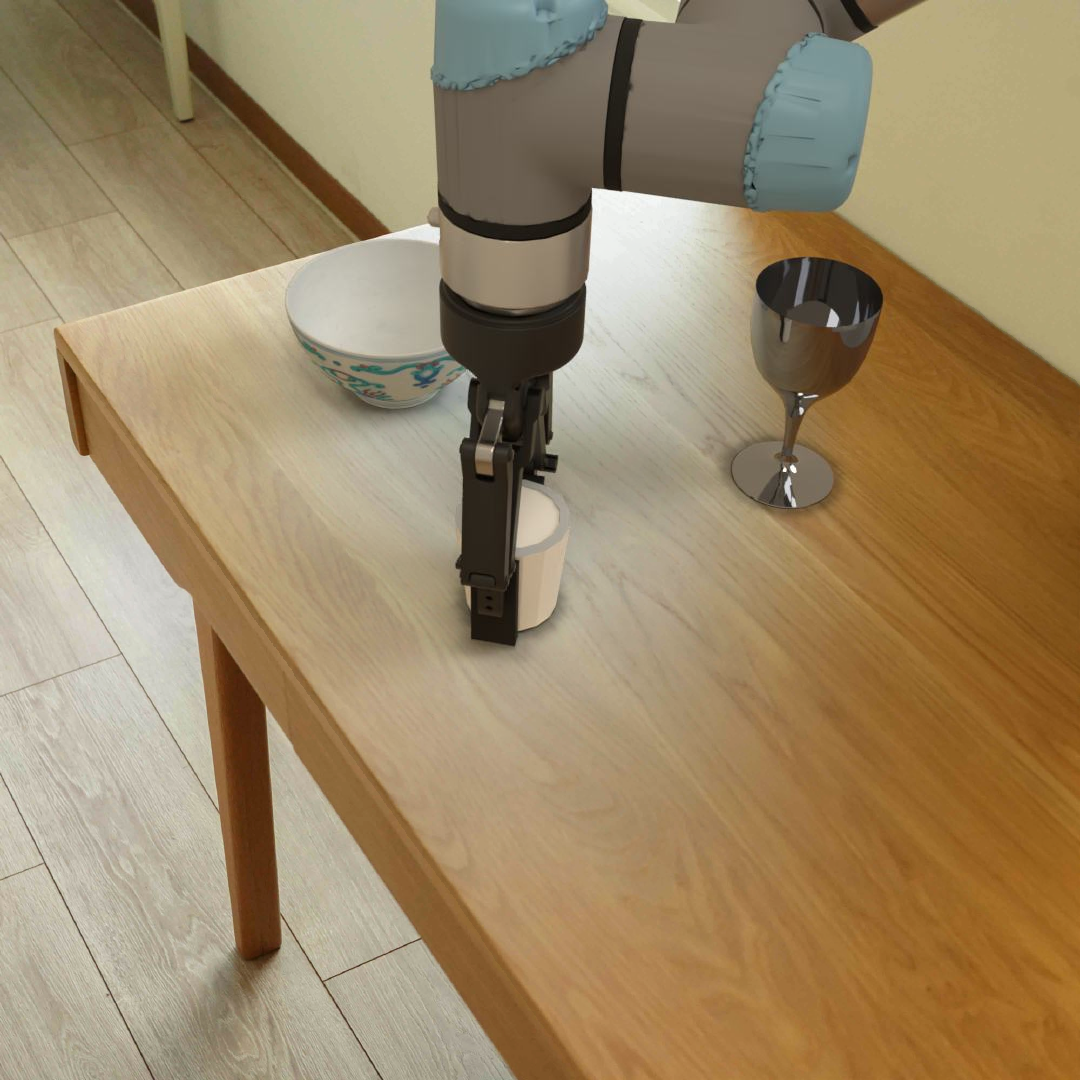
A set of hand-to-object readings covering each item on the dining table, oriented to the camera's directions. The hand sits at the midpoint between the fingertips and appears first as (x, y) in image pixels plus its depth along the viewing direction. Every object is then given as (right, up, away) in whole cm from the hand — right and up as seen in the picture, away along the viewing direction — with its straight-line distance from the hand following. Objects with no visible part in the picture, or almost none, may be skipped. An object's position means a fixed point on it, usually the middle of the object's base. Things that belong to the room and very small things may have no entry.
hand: (507, 594), depth 84 cm
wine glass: (+19, +8, +10) cm, 23 cm away
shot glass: (0, 0, 0) cm, 1 cm away
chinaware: (-9, +15, +17) cm, 24 cm away
